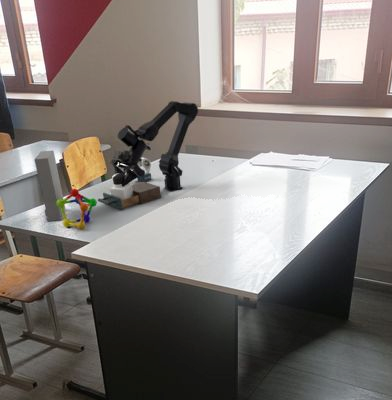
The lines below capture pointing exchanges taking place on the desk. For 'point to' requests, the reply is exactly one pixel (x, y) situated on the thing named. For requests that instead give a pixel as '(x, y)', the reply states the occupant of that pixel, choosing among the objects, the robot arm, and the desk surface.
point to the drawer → (119, 200)
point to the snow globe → (147, 166)
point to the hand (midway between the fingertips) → (118, 184)
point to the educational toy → (83, 207)
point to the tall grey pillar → (49, 184)
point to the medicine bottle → (121, 187)
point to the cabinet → (146, 191)
